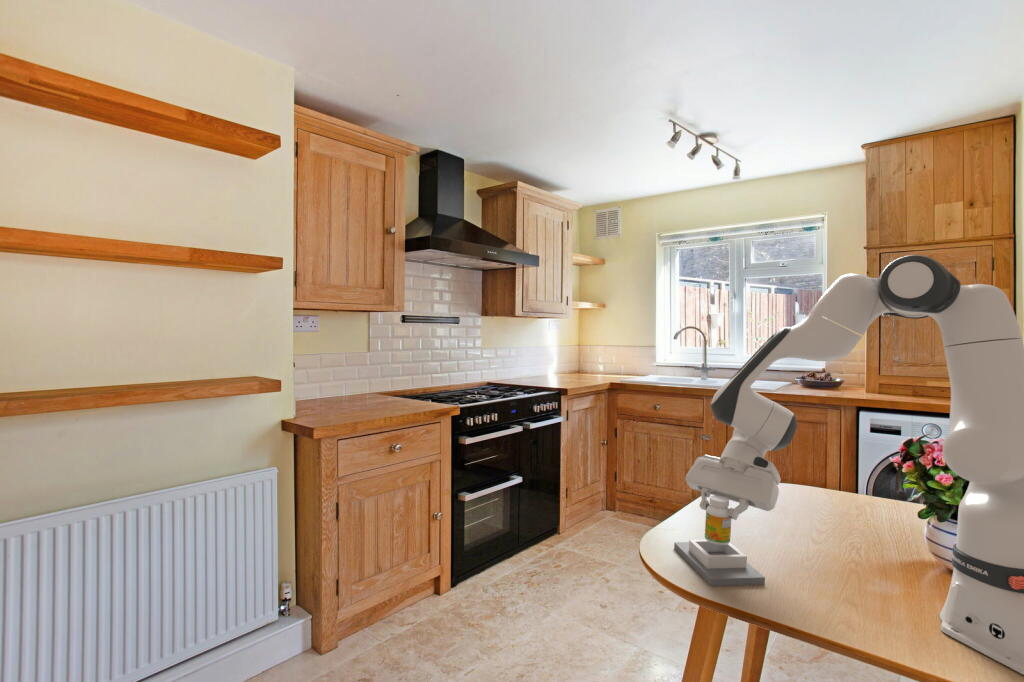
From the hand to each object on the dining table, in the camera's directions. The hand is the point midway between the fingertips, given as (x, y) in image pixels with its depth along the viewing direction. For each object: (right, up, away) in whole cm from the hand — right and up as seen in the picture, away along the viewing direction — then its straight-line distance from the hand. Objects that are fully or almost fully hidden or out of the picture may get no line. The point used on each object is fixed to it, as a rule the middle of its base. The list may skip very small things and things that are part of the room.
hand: (717, 513), depth 120 cm
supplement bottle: (0, -7, +1) cm, 7 cm away
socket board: (0, -12, +1) cm, 12 cm away
